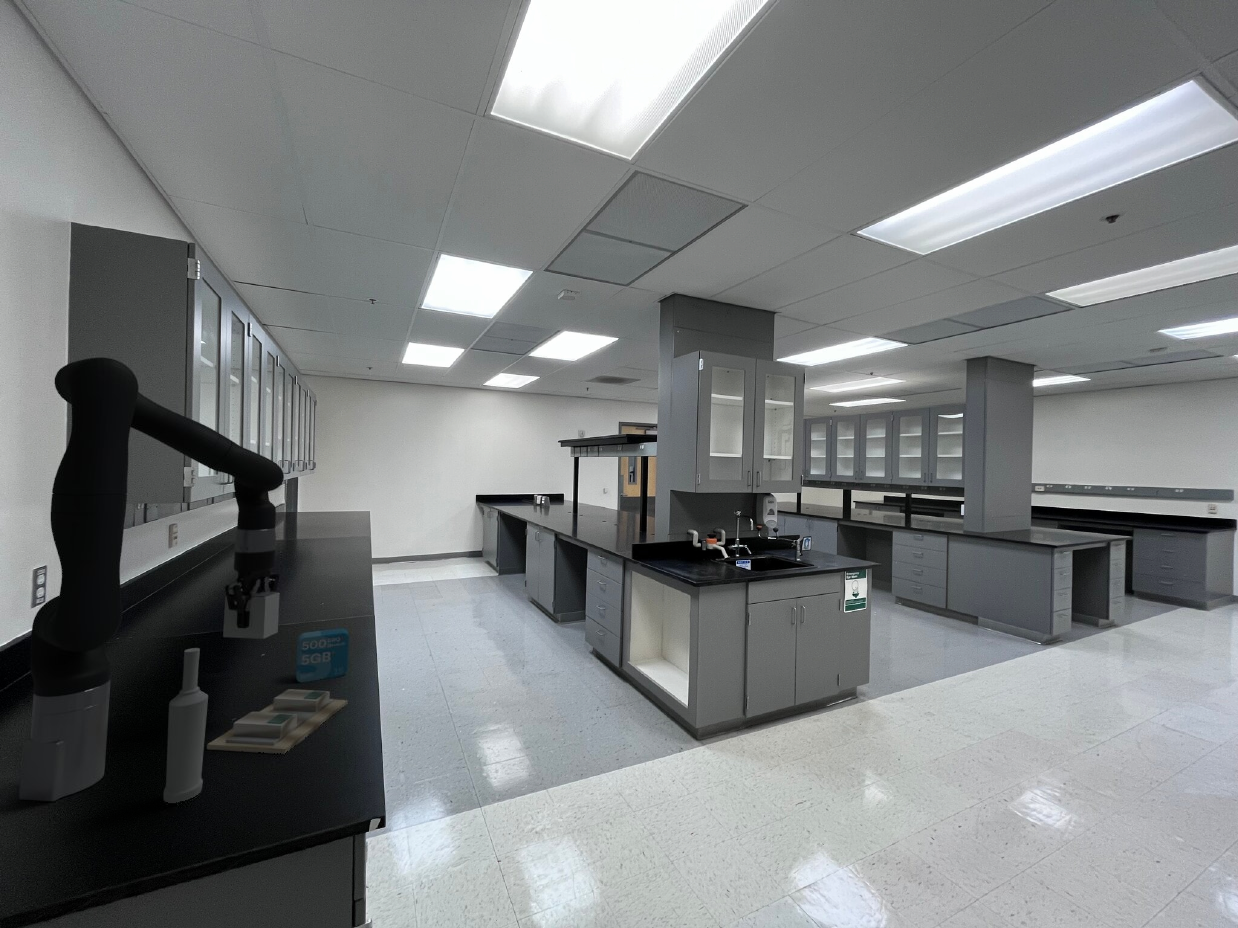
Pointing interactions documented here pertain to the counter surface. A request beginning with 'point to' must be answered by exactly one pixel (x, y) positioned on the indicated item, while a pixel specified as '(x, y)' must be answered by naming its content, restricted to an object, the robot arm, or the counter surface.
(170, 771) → the bottle
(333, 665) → the data package
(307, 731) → the rail board
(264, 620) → the block
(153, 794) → the counter surface
